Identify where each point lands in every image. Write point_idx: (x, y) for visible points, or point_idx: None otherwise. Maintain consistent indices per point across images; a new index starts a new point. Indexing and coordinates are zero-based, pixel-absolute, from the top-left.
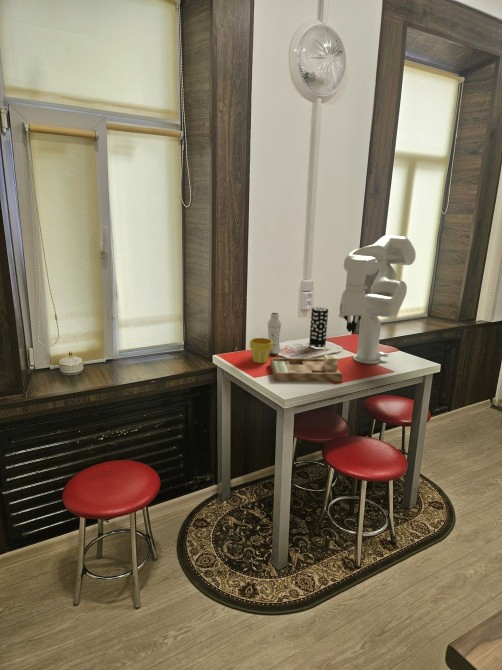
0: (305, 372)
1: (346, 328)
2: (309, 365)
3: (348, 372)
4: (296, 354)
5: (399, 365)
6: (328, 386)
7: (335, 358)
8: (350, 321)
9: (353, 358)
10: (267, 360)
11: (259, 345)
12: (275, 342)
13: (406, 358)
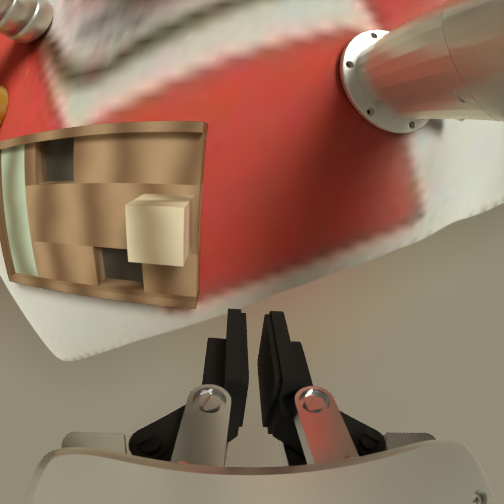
0: (75, 265)
1: (208, 339)
2: (91, 192)
3: (255, 209)
4: (109, 9)
5: (461, 166)
6: (147, 322)
7: (170, 262)
8: (226, 443)
9: (340, 60)
10: (4, 112)
11: None
12: (9, 31)
13: None
